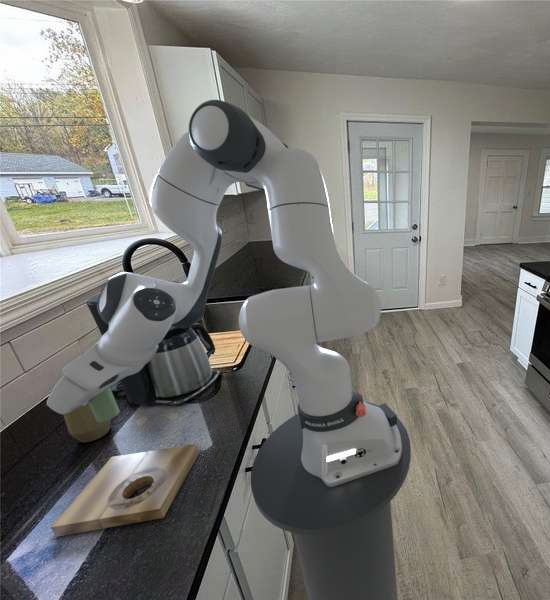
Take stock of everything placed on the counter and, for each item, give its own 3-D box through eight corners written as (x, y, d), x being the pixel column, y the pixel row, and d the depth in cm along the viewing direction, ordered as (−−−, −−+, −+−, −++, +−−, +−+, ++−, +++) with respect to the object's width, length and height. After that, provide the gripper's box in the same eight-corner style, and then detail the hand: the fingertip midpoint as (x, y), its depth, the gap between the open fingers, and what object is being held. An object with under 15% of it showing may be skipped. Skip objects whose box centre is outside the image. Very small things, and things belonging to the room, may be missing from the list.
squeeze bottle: (85, 427, 84) (57, 370, 78) (122, 420, 86) (97, 363, 80) (66, 450, 77) (33, 388, 70) (106, 441, 79) (78, 381, 73)
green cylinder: (124, 408, 72) (107, 365, 68) (112, 420, 68) (92, 375, 64) (104, 411, 72) (85, 367, 68) (90, 423, 68) (69, 378, 64)
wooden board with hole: (199, 452, 74) (196, 443, 74) (163, 518, 60) (159, 508, 59) (115, 464, 72) (111, 456, 71) (55, 537, 57) (50, 527, 56)
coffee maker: (207, 402, 92) (174, 294, 80) (77, 424, 85) (20, 309, 74) (228, 362, 113) (204, 272, 101) (125, 377, 106) (86, 283, 94)
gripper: (150, 323, 73) (125, 360, 77) (53, 371, 54) (27, 417, 58) (173, 340, 74) (148, 375, 78) (86, 393, 55) (59, 436, 59)
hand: (96, 393), depth 68 cm, fingers closed on green cylinder, 4 cm apart
